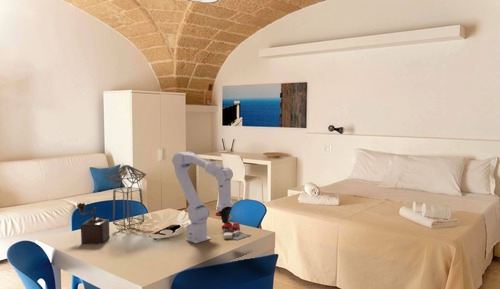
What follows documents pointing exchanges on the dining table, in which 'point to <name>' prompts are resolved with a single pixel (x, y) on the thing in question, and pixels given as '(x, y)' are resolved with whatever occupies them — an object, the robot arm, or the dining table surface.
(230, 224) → the red flower sprig
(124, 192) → the geometric lantern
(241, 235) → the mat
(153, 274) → the dining table surface
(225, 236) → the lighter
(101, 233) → the coffee grinder
